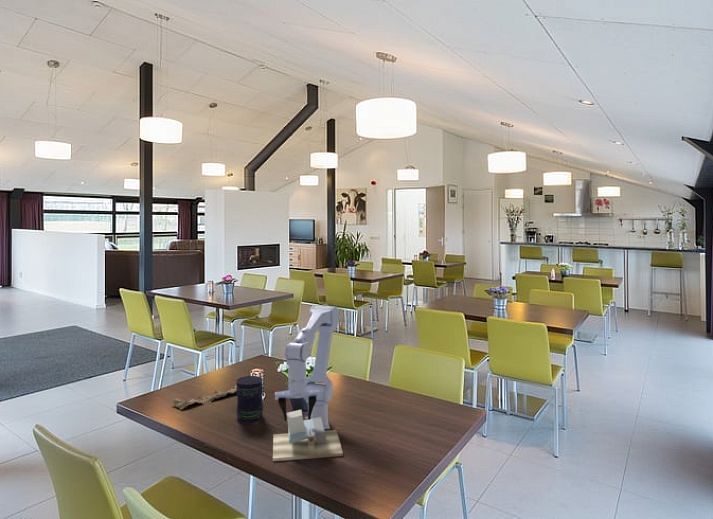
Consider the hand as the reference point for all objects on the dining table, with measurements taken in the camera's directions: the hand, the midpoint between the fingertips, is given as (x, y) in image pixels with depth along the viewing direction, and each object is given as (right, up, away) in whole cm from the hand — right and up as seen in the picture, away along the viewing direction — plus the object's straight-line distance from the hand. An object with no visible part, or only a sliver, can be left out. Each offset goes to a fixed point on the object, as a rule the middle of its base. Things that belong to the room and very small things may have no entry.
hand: (297, 419), depth 154 cm
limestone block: (0, -4, 0) cm, 4 cm away
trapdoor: (+3, -6, +1) cm, 7 cm away
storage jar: (-21, -8, +24) cm, 33 cm away
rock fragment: (-41, -7, +46) cm, 63 cm away
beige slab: (+3, -9, +1) cm, 10 cm away
